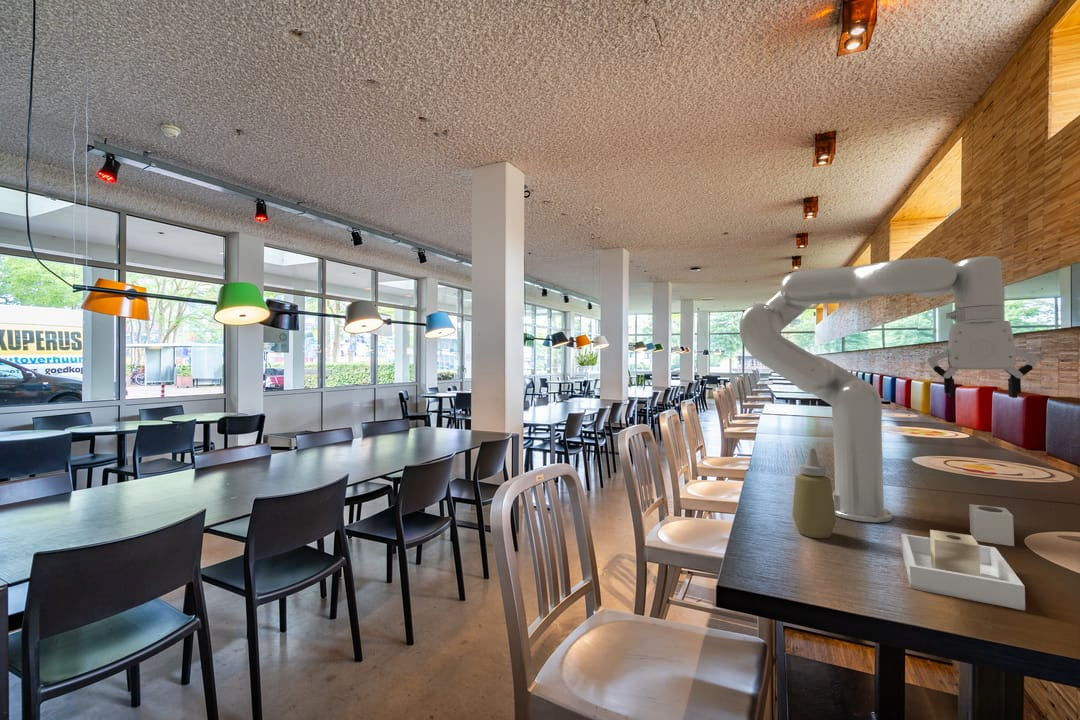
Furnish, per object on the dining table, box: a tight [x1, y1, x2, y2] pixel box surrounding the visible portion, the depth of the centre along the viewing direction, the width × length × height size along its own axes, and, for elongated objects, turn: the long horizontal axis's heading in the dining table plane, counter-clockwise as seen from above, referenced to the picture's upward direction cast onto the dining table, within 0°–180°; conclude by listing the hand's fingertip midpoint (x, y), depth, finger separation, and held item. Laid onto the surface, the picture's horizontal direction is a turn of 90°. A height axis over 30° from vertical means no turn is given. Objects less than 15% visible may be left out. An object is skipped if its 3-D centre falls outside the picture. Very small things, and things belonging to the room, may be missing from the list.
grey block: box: [968, 503, 1015, 547], centre depth 95 cm, size 6×6×6 cm
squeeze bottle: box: [792, 447, 837, 539], centre depth 99 cm, size 8×8×18 cm
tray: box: [900, 533, 1026, 611], centre depth 78 cm, size 13×17×4 cm
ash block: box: [929, 529, 980, 576], centre depth 78 cm, size 6×6×6 cm
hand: (981, 397), depth 99 cm, fingers open, 9 cm apart
